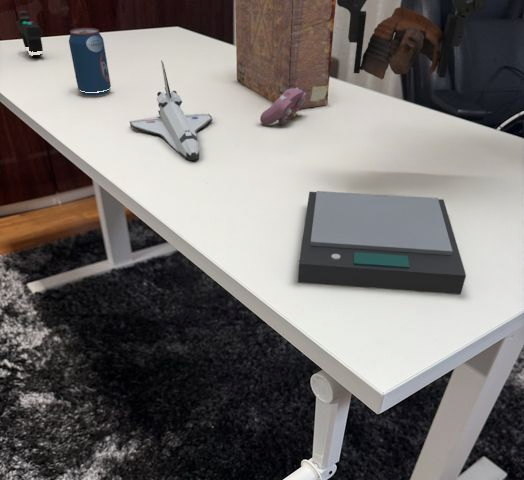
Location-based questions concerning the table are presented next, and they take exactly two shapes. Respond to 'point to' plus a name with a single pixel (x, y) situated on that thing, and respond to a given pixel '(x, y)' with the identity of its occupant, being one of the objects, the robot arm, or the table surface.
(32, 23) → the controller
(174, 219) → the table surface
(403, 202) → the scale
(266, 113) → the video game controller
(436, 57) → the brown hollow arched part
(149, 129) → the space shuttle model
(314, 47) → the book
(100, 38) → the soda can
